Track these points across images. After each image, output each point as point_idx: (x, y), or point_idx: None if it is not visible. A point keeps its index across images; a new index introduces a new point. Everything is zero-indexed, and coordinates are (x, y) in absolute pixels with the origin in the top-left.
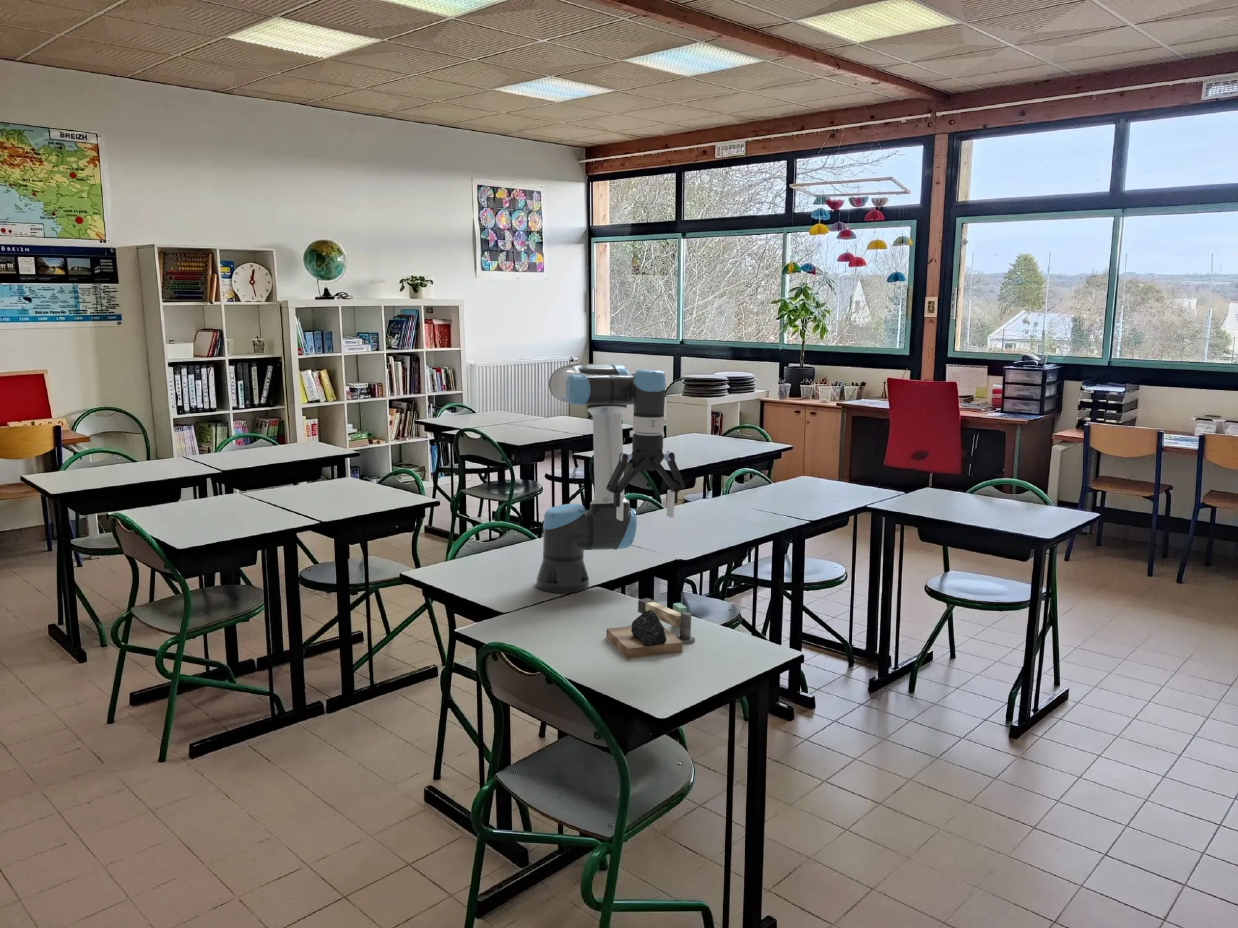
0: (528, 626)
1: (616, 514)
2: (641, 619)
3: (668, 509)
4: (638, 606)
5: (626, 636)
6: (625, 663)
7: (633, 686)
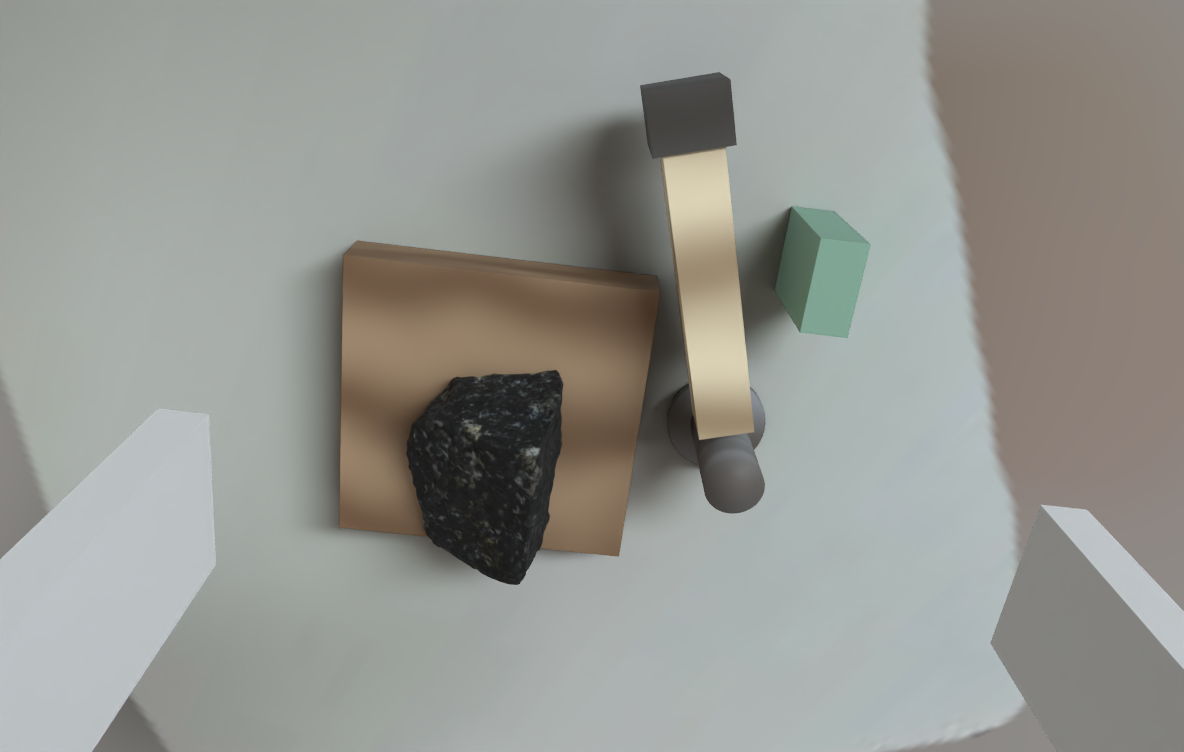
0: None
1: (125, 445)
2: (460, 459)
3: (1073, 626)
4: (642, 93)
5: (399, 395)
6: (323, 537)
7: (267, 713)
